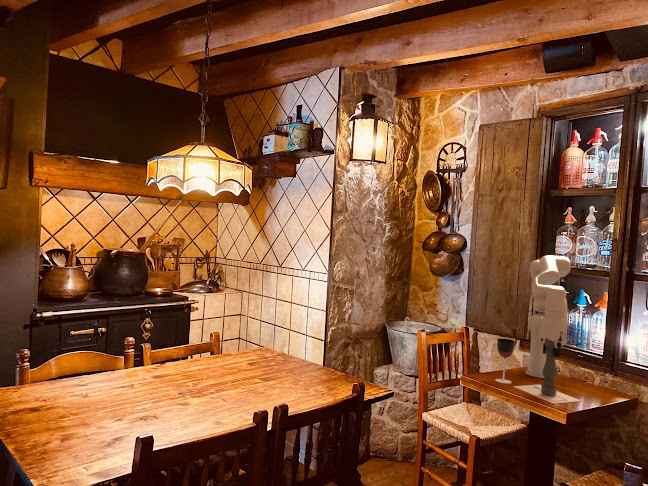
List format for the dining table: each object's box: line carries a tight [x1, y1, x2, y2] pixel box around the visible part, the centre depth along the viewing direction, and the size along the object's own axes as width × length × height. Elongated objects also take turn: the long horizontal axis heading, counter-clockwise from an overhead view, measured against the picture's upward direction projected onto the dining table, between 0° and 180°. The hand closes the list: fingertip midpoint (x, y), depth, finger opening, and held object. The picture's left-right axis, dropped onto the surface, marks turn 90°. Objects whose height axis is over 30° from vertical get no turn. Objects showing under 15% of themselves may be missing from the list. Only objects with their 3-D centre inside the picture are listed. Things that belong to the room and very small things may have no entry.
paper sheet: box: [513, 384, 582, 404], centre depth 232 cm, size 24×16×1 cm, turn 22°
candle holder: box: [541, 338, 558, 396], centre depth 229 cm, size 6×6×25 cm
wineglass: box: [495, 338, 516, 384], centre depth 249 cm, size 8×9×20 cm
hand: (551, 354), depth 229 cm, fingers closed on candle holder, 5 cm apart
